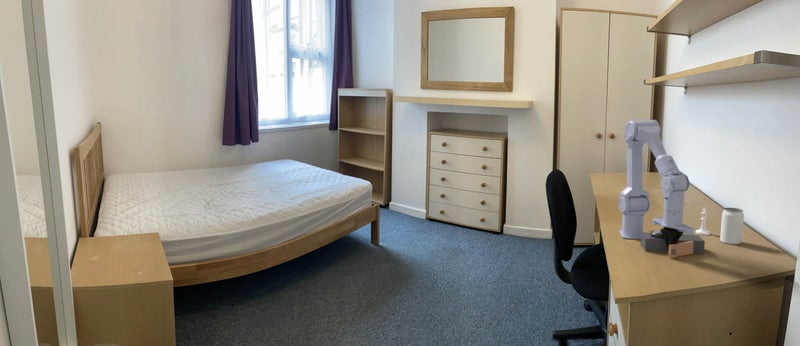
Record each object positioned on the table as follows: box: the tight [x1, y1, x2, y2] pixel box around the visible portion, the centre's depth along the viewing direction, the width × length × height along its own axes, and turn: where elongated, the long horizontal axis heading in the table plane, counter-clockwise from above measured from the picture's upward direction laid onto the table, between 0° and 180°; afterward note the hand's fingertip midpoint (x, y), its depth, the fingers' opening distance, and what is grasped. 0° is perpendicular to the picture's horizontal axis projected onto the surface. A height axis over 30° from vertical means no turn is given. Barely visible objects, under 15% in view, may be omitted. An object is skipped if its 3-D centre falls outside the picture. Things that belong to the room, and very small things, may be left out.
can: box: [719, 207, 745, 246], centre depth 177 cm, size 6×6×12 cm
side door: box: [667, 241, 694, 259], centre depth 165 cm, size 1×10×4 cm, turn 110°
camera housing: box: [640, 230, 706, 255], centre depth 172 cm, size 8×18×6 cm, turn 75°
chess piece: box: [694, 207, 711, 236], centre depth 188 cm, size 5×5×10 cm
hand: (670, 249), depth 166 cm, fingers closed
